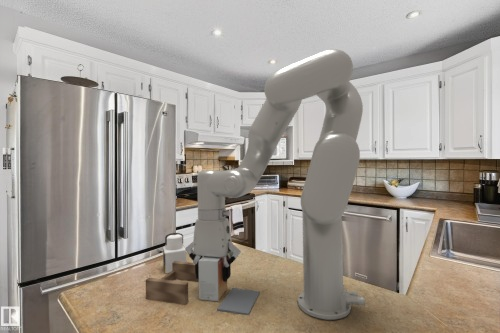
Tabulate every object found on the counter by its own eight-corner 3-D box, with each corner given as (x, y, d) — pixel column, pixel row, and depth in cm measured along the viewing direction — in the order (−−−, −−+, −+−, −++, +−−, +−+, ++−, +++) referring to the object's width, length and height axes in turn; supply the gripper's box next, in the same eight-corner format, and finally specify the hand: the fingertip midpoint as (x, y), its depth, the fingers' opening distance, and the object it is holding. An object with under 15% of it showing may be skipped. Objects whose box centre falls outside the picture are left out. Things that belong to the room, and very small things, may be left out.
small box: (218, 302, 65) (217, 261, 65) (198, 300, 66) (197, 260, 66) (228, 287, 72) (227, 251, 72) (209, 286, 74) (209, 250, 74)
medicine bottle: (163, 266, 89) (162, 233, 89) (183, 263, 92) (183, 230, 92) (164, 274, 83) (164, 237, 83) (186, 270, 85) (186, 235, 85)
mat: (259, 292, 69) (259, 291, 69) (248, 315, 58) (248, 313, 58) (232, 289, 71) (232, 287, 71) (217, 310, 61) (217, 308, 61)
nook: (209, 280, 77) (208, 264, 77) (185, 304, 64) (185, 284, 64) (175, 276, 80) (174, 261, 80) (145, 298, 67) (145, 280, 67)
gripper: (245, 213, 71) (246, 275, 70) (190, 211, 75) (191, 270, 75) (236, 218, 63) (238, 288, 63) (176, 216, 68) (177, 280, 68)
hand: (212, 277), depth 69 cm, fingers open, 7 cm apart
